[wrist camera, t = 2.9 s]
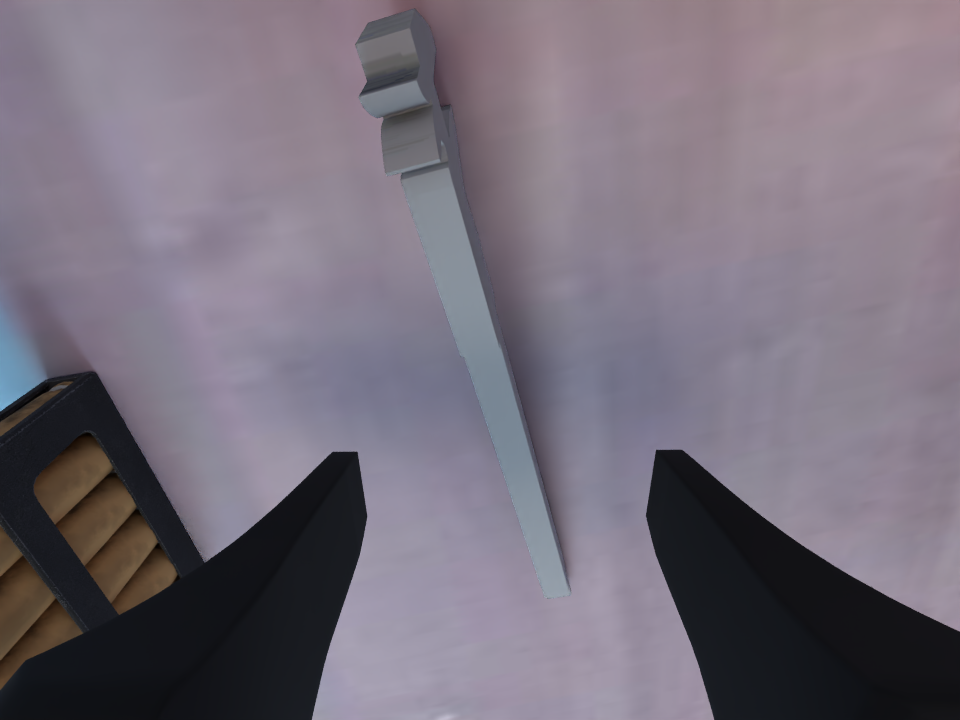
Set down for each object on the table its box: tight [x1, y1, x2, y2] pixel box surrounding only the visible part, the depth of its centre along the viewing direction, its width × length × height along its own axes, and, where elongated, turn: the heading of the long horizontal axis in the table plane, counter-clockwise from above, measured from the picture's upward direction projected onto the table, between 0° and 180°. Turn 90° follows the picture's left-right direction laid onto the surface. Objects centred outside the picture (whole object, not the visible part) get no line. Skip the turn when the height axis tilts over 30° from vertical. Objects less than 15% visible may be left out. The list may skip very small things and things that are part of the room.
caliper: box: [355, 9, 572, 599], centre depth 15 cm, size 20×1×6 cm, turn 14°
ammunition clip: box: [0, 373, 204, 690], centre depth 15 cm, size 11×2×12 cm, turn 10°
